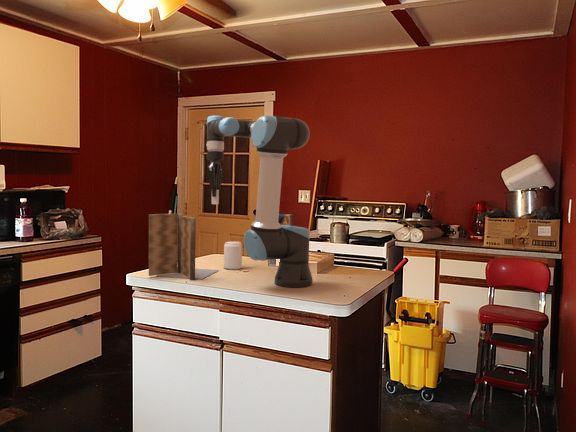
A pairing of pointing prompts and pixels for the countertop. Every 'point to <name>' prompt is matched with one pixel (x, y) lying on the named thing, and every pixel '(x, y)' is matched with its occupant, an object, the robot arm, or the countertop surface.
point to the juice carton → (283, 220)
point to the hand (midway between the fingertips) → (215, 204)
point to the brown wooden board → (162, 244)
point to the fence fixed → (186, 246)
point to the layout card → (198, 274)
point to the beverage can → (232, 255)
